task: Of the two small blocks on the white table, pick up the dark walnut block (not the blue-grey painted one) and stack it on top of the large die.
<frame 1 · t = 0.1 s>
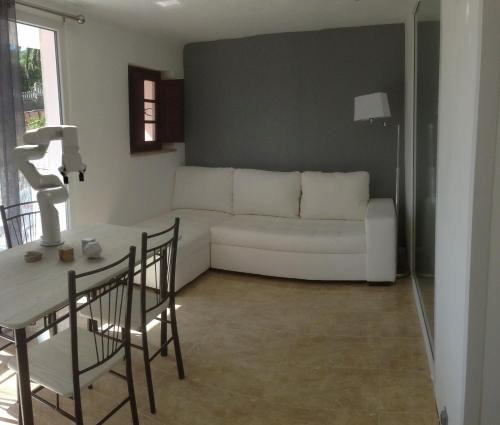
hand: (74, 182, 253), 37 cm above the table, tool pointing down, fingers open, 9 cm apart
walnut block: (67, 260, 243), on the table
grey block: (89, 249, 260), on the table
die: (93, 257, 247), on the table
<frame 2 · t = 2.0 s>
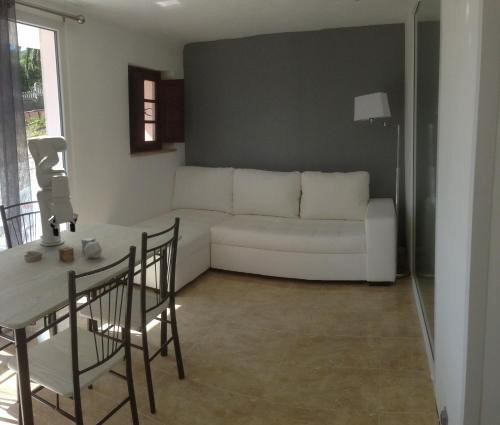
hand: (64, 233, 239), 14 cm above the table, tool pointing down, fingers open, 9 cm apart
nothing on the table moved.
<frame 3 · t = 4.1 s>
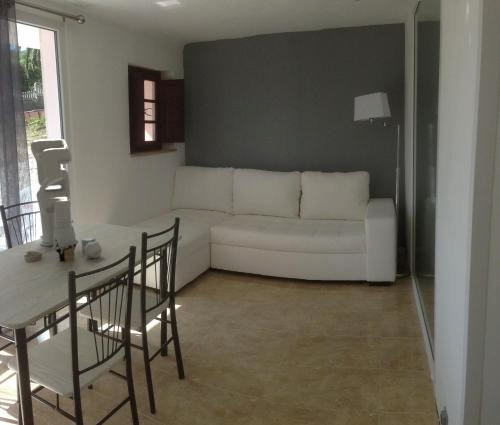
hand: (66, 258, 242), 0 cm above the table, tool pointing down, fingers closed on walnut block, 5 cm apart
walnut block: (67, 259, 243), on the table, touching gripper
everything else where it was.
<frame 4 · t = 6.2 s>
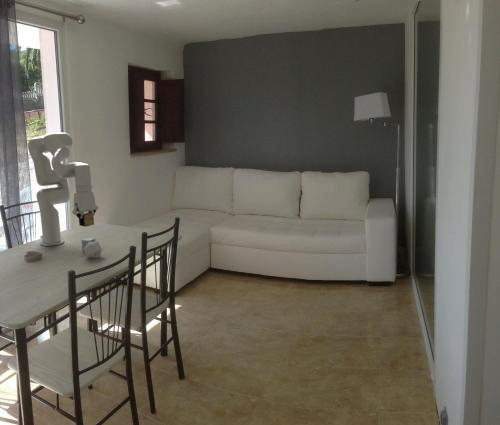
hand: (86, 224, 242), 18 cm above the table, tool pointing down, fingers closed on walnut block, 5 cm apart
walnut block: (86, 225, 242), point 17 cm above the table, touching gripper
everything else where it was.
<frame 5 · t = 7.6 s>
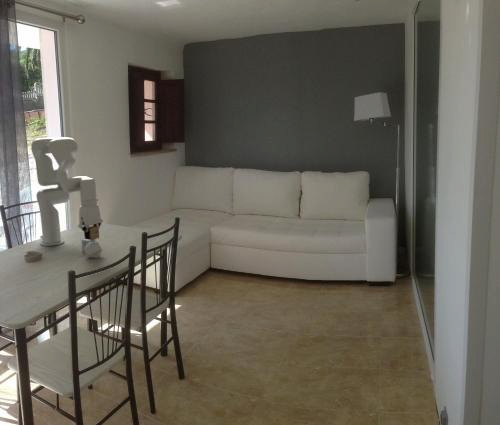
hand: (91, 237, 244), 11 cm above the table, tool pointing down, fingers closed on walnut block, 5 cm apart
walnut block: (92, 238, 244), point 10 cm above the table, touching gripper
everything else where it was.
when the fingers open (10 cm above the table, at t = 8.5 s): walnut block drops 2 cm, resting on die.
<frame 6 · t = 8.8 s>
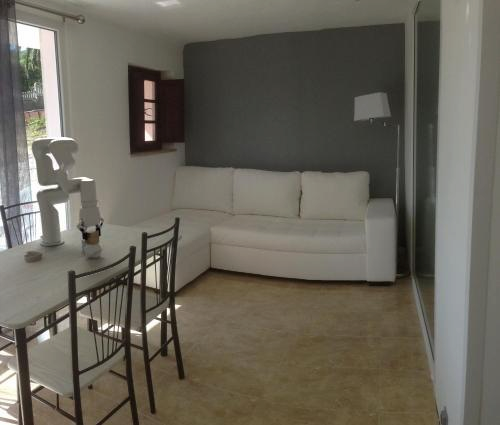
hand: (91, 237, 244), 10 cm above the table, tool pointing down, fingers open, 7 cm apart
walnut block: (92, 242, 245), point 8 cm above the table, touching die
die: (93, 257, 247), on the table, touching walnut block
everything else where it was.
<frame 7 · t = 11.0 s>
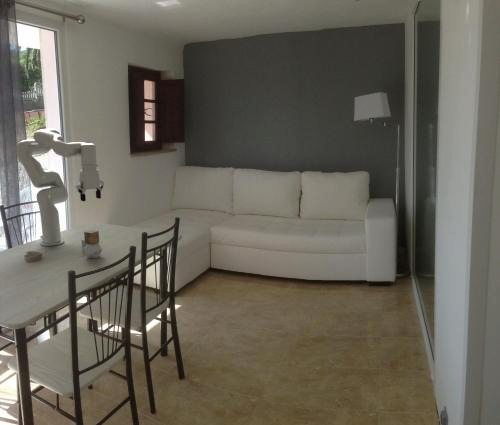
hand: (91, 199, 254), 28 cm above the table, tool pointing down, fingers open, 9 cm apart
nothing on the table moved.
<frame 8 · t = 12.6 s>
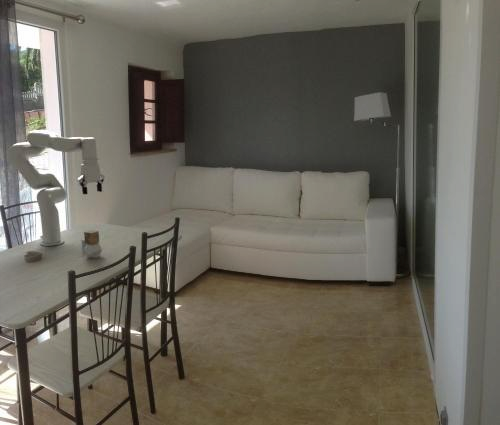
hand: (92, 192, 259), 30 cm above the table, tool pointing down, fingers open, 9 cm apart
nothing on the table moved.
at the end: walnut block inside the target area on the die (0.1 cm from its centre), point 7.9 cm above the die's base; the gripper is holding nothing; grey block moved 0.1 cm from its start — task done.
